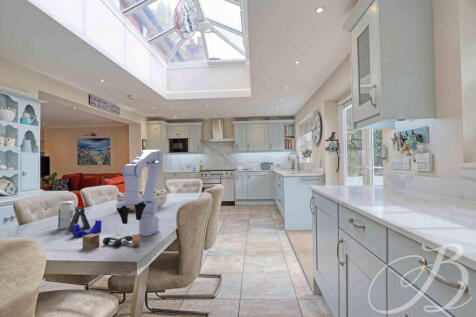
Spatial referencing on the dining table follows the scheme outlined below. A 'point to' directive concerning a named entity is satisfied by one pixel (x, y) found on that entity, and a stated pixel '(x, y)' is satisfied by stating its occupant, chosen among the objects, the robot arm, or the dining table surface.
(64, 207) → the syrup box
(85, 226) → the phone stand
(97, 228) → the cable clip
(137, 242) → the pin
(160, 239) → the dining table surface
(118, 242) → the dolly
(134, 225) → the dining table surface
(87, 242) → the block
